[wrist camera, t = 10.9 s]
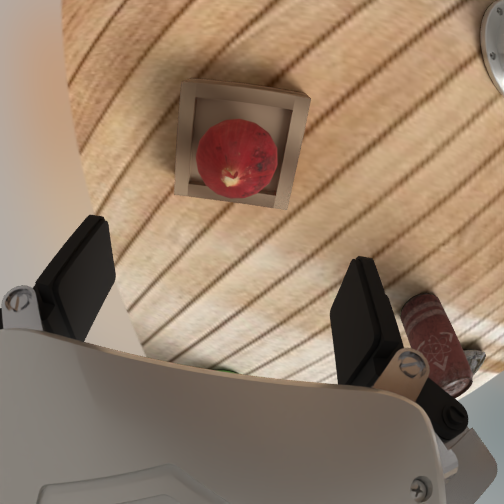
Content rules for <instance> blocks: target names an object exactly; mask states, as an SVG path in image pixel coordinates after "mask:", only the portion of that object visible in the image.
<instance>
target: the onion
mask: <svg viewBox="0 0 504 504" xmlns="http://www.w3.org/2000/svg"><path fill="white" fill-rule="evenodd" d="M196 162H197V168H198V172H199V174H200V176H201V178H202V179H203V181H204V183H205V185H206V186H207V187H209V188H210V189H211V190H212V191H214V192H215V193H216V194H218V195H221V196H224V197H227V198H230V199H234V198H246V197H249V196H252V195H254V194H257V193H258V192H259V191H261V190H262V189H263V188H264V187H265V186H266V185H268V184H269V183H270V181H271V179H272V177H273V174H274V172H275V170H276V168H277V165H278V162H277V147H276V145H275V143H274V141H273V139H272V137H271V135H270V134H269V133H268V132H267V131H266V130H264V129H263V128H262V127H260V126H259V125H258V124H256V123H254V122H250V121H247V120H243V119H231V120H224V121H222V122H220V123H218V124H216V125H214V126H212V127H210V128H209V129H208V130H207V132H206V133H205V134H204V135H203V137H202V138H201V139H200V141H199V145H198V149H197V153H196Z"/></svg>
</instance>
